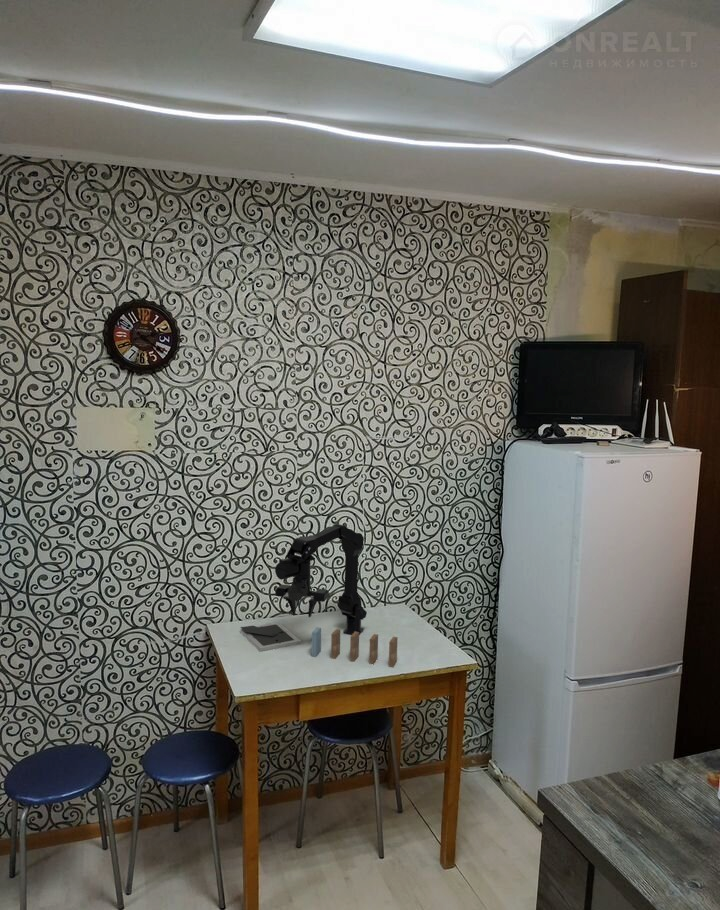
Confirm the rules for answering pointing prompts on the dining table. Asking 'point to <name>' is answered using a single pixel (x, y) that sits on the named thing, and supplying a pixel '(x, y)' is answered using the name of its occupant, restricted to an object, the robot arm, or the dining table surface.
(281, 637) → the picture frame
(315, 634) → the domino
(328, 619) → the dining table surface
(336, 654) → the domino
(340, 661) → the dining table surface
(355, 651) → the domino
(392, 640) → the domino
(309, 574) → the robot arm
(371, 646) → the domino
